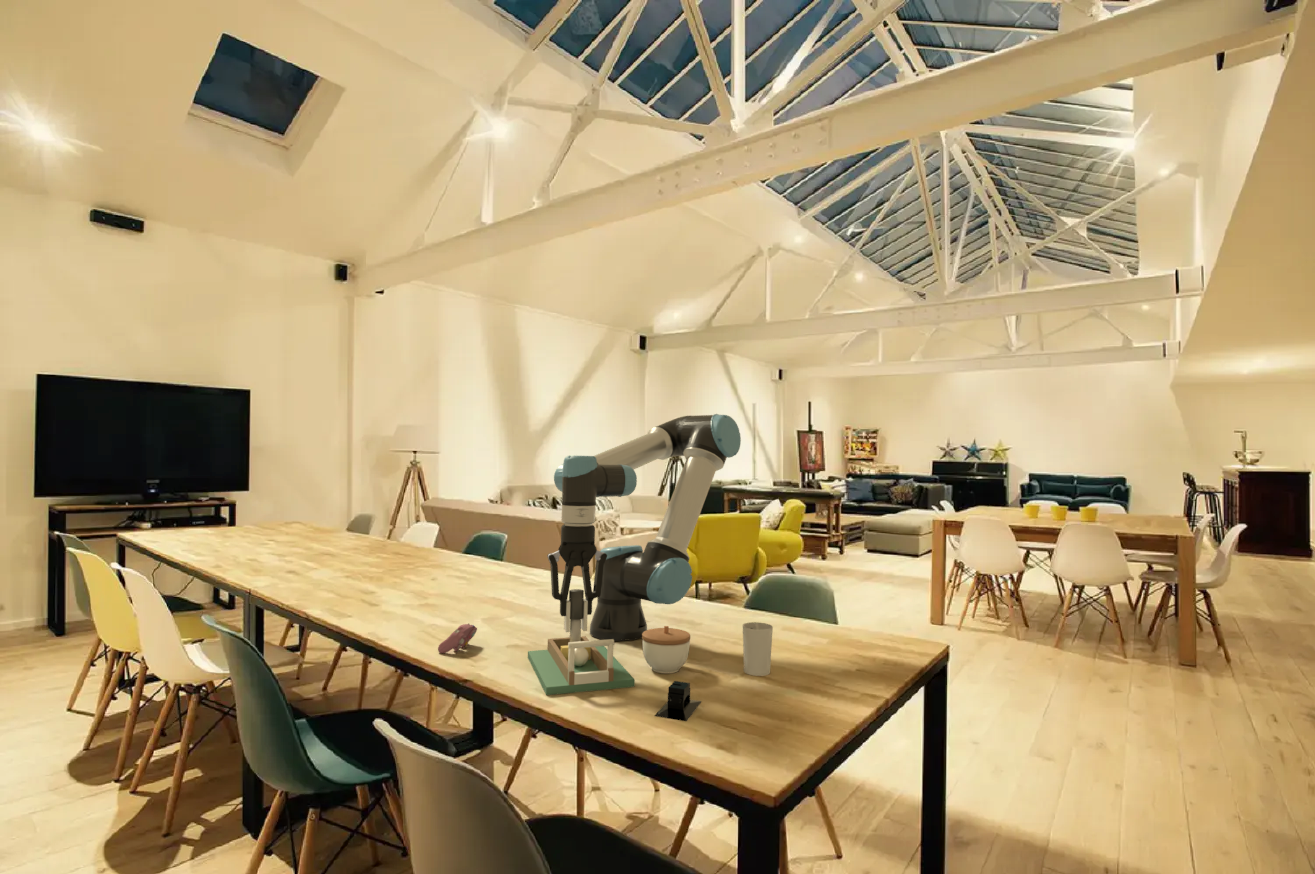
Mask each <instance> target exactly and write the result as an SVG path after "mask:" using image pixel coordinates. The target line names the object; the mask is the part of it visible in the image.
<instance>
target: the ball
mask: <svg viewBox="0 0 1315 874" xmlns="http://www.w3.org/2000/svg"><path fill="white" fill-rule="evenodd" d="M588 657H589V655H588V652H587V650H586V649H585V648H575V655H574V665H576V666H582V665H584V664H585V663H586V662H587V661H588Z"/></svg>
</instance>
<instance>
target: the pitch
mask: <svg viewBox="0 0 1315 874" xmlns="http://www.w3.org/2000/svg"><path fill="white" fill-rule="evenodd" d="M567 645H568V648H569V653H568V661H567V660H566V659H565V657H564V656H563V654H562V653H561V646H567ZM614 646H615V641H614V639H608V640H604V639H597V640H596V639H595V640H590V639H588V637H587V636H586V635H584V636H582V635H581V641H580V642H570V636H569V637H554V638H547V649H537V650H528V651H527V660H528V661H529V663H530V665H531V667H532V669H533V671H534V673H535V675H536V678H537V679H538V681H539V683H540V686H541V687H542V689H543V691H544V694H545V695H546V696H550V695H561V694H562V695H563V694H573V693H584V692H592V691H593V692H595V691H602V690H603V691H604V690H613V689H615V690H616V689H624V688H634V687H635V684H636V683H635V681H636V679H635V678H634V677H633V676H632V675H631V673H630V672H629V671H628V670H627V669H626V668H625V667H624V666H623V665H622V663H620V662H619V660H618V658H617V659H616V657H615V656H614ZM584 647H591V652H590V660H588V661H587V662H586V663H585V664H584V665H582V666H576V665H574V655H575V648H584Z"/></svg>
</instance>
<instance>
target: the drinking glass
mask: <svg viewBox="0 0 1315 874" xmlns="http://www.w3.org/2000/svg"><path fill="white" fill-rule="evenodd" d="M773 628H774V626H773V625H771V624H770V623H765V622H759V621H758V622H757V621H756V622H755V621H753V622H746V623H743V624H742V648H743V650H742V651H743V672H744V673H745V674H747V675H750V676H754V677H755V676H757V677H765V676H768V675H770V674H771V664H772V663H771V662H772V644H773Z"/></svg>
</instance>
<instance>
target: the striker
mask: <svg viewBox="0 0 1315 874" xmlns="http://www.w3.org/2000/svg"><path fill="white" fill-rule="evenodd" d="M584 597H585V591H584V589H580V588H579V589H578V588H576V589H575V588H573V589H569V592H568V600H569V601H570V632H569V637H570V642H580V641H581V637H582V635H581V634H582V633H581V632H582V629H581V619H582V618H583V599H585V598H584ZM584 648H585V649H586V650H587V652H588V655H589V657H588V660H590V652H591V647H584ZM561 653H562V654H563V656H564V657H565V659H566V660H567V661H568V653H569V648H568V645H567V646H561Z"/></svg>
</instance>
